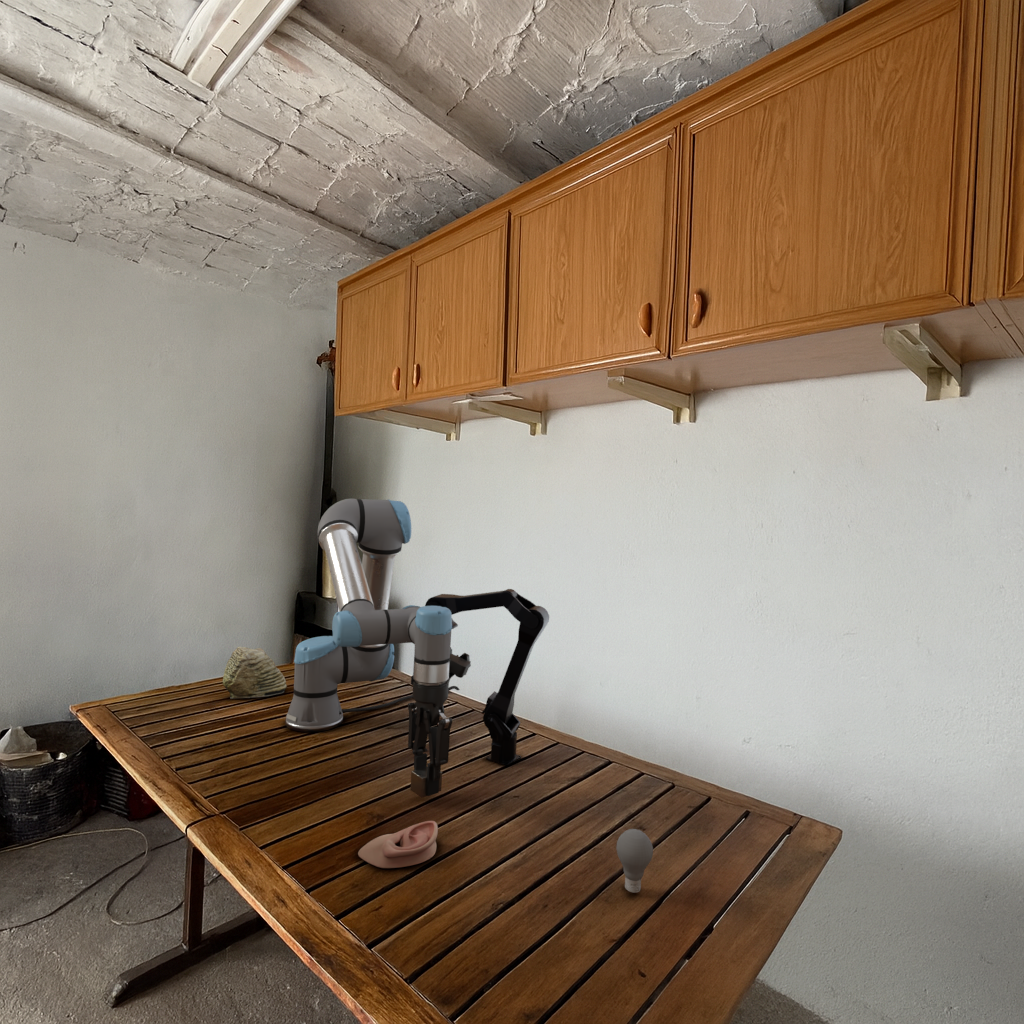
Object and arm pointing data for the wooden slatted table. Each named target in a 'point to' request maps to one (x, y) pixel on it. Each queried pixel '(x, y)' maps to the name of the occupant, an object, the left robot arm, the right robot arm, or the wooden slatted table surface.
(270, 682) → the fossil
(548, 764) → the wooden slatted table surface
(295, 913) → the wooden slatted table surface
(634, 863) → the light bulb
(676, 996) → the wooden slatted table surface
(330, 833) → the wooden slatted table surface
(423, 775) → the block
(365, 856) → the anatomical model
